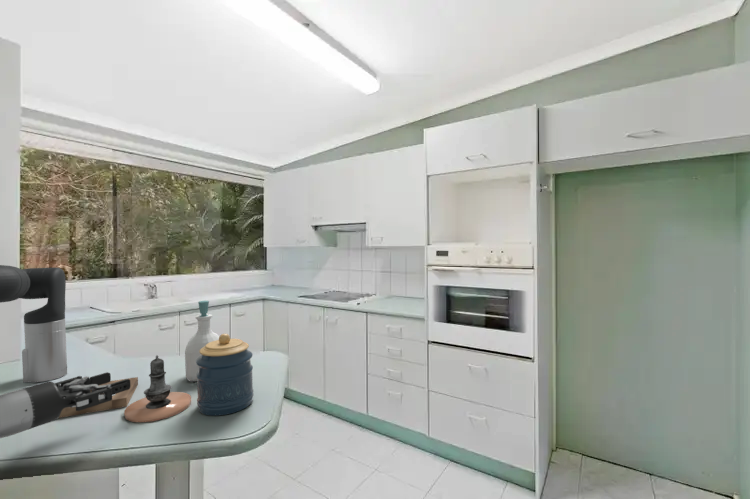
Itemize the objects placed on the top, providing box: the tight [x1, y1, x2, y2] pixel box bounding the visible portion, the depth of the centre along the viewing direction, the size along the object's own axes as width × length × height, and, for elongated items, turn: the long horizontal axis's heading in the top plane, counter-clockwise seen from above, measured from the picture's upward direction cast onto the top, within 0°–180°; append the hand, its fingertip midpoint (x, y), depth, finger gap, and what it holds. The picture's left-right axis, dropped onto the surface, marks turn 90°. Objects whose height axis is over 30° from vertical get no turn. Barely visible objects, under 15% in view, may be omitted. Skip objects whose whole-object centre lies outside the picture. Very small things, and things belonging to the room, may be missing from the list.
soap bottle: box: [184, 300, 220, 382], centre depth 109 cm, size 10×10×23 cm
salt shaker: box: [143, 355, 173, 409], centre depth 89 cm, size 6×6×12 cm
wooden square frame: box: [58, 376, 139, 419], centre depth 94 cm, size 15×15×2 cm
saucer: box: [124, 391, 192, 423], centre depth 89 cm, size 14×14×1 cm
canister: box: [196, 333, 254, 417], centre depth 90 cm, size 13×13×18 cm
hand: (119, 380), depth 81 cm, fingers open, 8 cm apart
